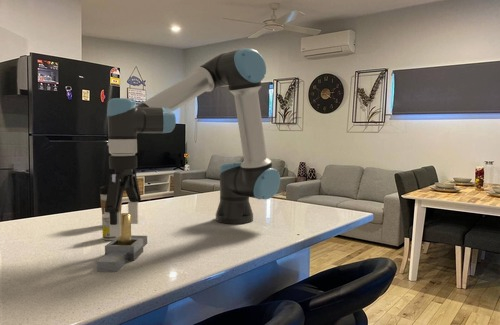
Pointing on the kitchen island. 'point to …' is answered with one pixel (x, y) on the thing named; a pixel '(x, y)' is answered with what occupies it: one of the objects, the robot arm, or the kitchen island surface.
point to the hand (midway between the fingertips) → (125, 229)
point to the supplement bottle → (106, 227)
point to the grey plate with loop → (121, 254)
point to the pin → (125, 229)
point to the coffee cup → (103, 195)
